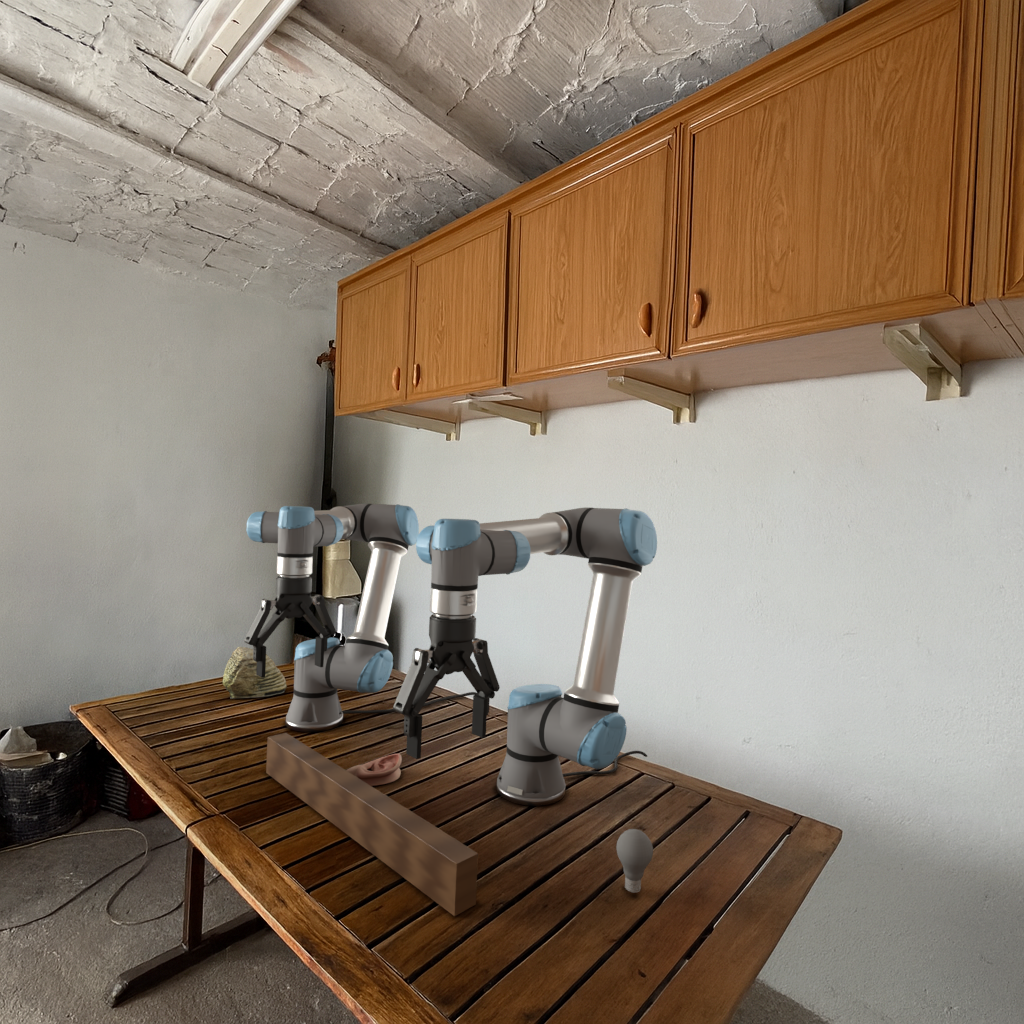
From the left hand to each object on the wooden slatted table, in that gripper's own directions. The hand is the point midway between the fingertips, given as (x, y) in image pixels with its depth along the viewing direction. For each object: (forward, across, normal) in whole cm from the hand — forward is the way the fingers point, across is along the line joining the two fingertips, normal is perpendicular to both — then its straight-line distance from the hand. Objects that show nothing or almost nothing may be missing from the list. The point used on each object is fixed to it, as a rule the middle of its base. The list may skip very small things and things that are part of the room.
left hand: (290, 670), depth 141 cm
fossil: (+24, +19, +62) cm, 69 cm away
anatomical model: (+24, +15, -11) cm, 30 cm away
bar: (+24, 0, -27) cm, 37 cm away
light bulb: (+24, +24, -75) cm, 83 cm away
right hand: (0, 0, -55) cm, 55 cm away
